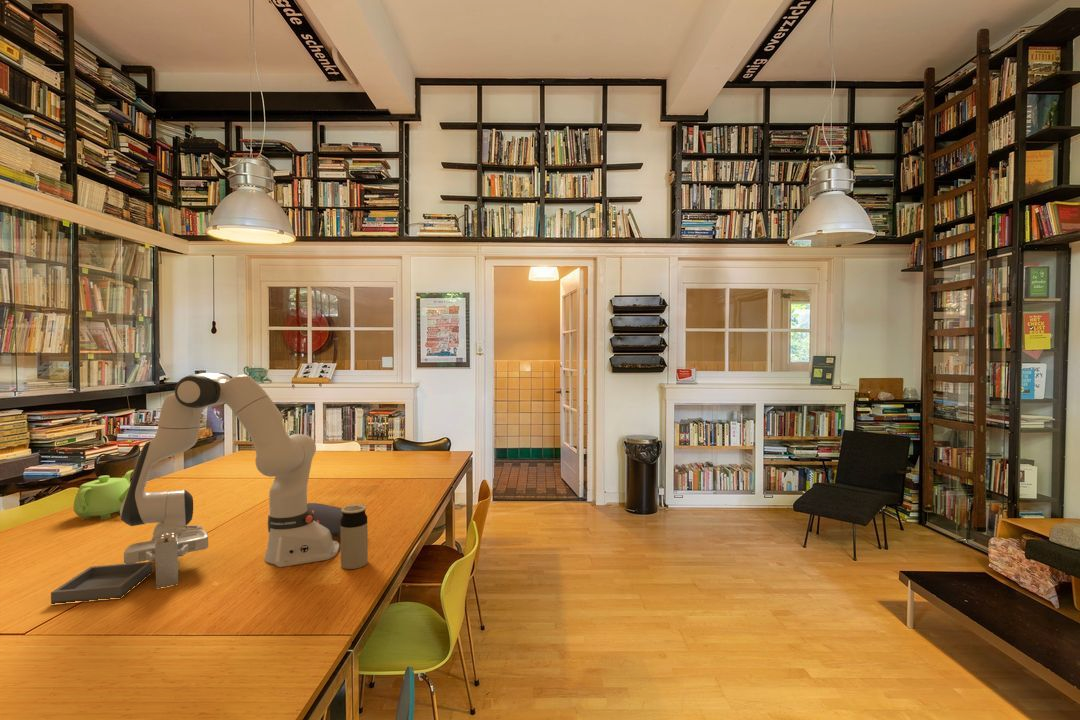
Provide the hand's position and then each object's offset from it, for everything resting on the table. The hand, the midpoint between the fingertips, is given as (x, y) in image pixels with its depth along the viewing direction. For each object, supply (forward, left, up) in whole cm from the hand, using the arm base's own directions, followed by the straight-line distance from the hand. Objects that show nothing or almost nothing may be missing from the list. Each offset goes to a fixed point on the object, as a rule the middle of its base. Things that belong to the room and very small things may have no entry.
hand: (166, 556), depth 144 cm
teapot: (+52, -75, -9) cm, 92 cm away
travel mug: (-51, -3, -9) cm, 51 cm away
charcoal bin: (+16, -2, -8) cm, 18 cm away
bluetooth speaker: (-38, -33, -9) cm, 51 cm away
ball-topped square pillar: (0, -1, -8) cm, 8 cm away
